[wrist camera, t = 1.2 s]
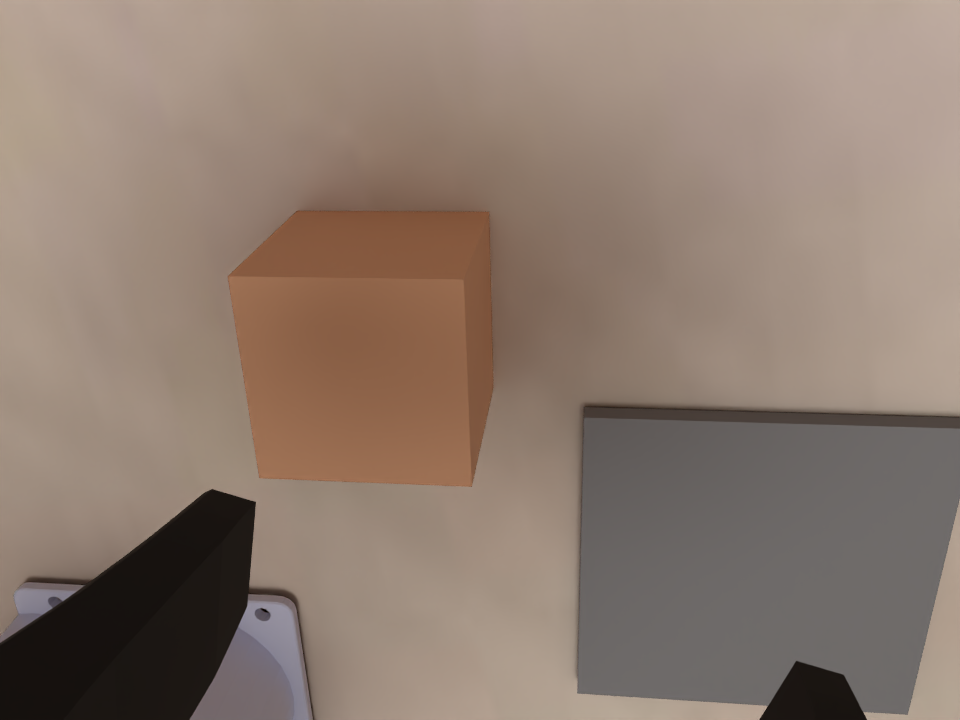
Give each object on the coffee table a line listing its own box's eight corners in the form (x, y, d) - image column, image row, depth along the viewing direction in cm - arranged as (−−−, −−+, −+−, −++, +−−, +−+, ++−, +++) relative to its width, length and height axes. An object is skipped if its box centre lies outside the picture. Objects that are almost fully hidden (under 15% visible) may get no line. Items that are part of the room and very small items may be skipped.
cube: (318, 381, 25) (259, 478, 21) (297, 209, 23) (227, 276, 19) (493, 386, 25) (471, 486, 20) (489, 210, 23) (463, 279, 18)
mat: (577, 679, 29) (577, 693, 28) (584, 407, 25) (583, 417, 24) (901, 699, 28) (907, 714, 27) (967, 417, 24) (976, 428, 23)
